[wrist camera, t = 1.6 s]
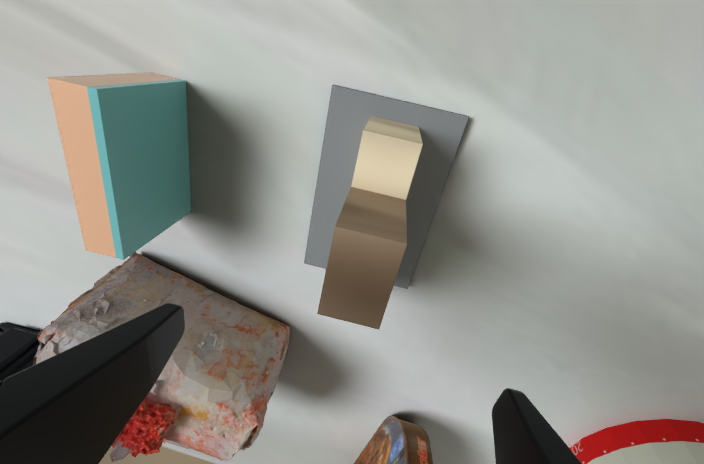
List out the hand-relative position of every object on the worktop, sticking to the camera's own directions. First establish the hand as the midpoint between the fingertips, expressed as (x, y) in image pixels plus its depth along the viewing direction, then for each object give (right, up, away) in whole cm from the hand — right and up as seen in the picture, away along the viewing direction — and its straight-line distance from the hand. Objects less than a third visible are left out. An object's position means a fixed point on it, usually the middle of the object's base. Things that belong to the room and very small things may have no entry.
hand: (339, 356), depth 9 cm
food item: (-11, -3, +17) cm, 20 cm away
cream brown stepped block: (+2, +5, +10) cm, 12 cm away
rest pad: (+2, +5, +10) cm, 12 cm away
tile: (-10, +8, +11) cm, 17 cm away
